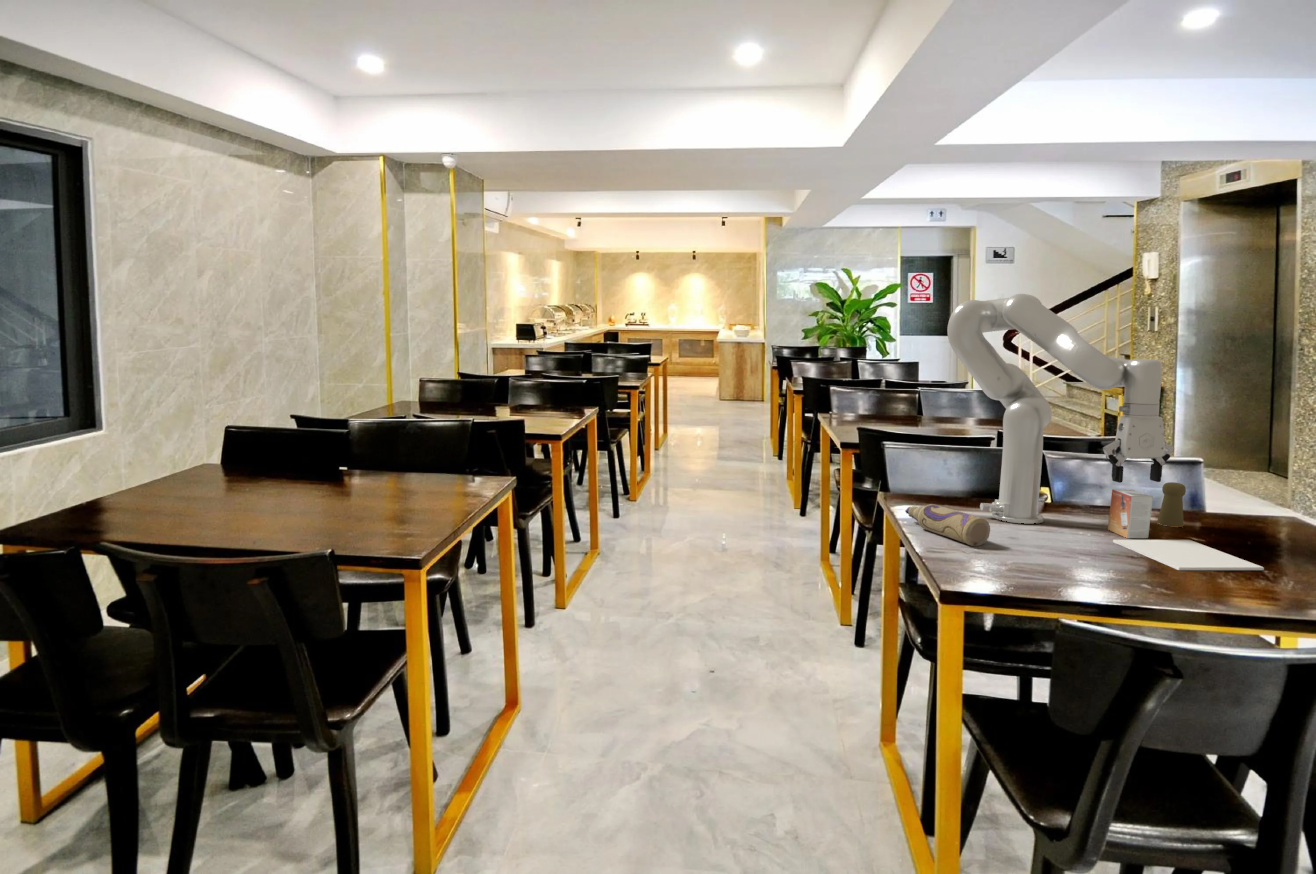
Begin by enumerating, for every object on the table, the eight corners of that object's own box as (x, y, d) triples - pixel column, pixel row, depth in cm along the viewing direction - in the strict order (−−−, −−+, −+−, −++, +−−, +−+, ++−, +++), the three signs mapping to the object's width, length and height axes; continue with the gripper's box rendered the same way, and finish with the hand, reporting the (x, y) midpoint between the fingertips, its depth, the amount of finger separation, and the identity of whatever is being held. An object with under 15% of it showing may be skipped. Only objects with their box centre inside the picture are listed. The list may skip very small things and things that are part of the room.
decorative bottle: (991, 545, 202) (993, 517, 201) (965, 548, 199) (967, 519, 198) (920, 520, 225) (921, 494, 224) (895, 522, 223) (896, 496, 222)
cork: (1180, 523, 229) (1185, 481, 227) (1186, 528, 223) (1190, 486, 221) (1154, 521, 230) (1158, 480, 229) (1159, 526, 225) (1163, 483, 223)
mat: (1178, 570, 184) (1179, 567, 184) (1113, 542, 207) (1113, 539, 207) (1263, 570, 186) (1263, 567, 186) (1189, 542, 209) (1189, 539, 209)
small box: (1107, 530, 219) (1111, 488, 217) (1128, 530, 219) (1132, 489, 218) (1126, 538, 211) (1131, 495, 210) (1149, 538, 211) (1153, 495, 210)
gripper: (1116, 412, 206) (1111, 484, 209) (1185, 412, 208) (1180, 483, 210) (1097, 409, 214) (1093, 479, 216) (1164, 409, 215) (1159, 478, 217)
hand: (1136, 481), depth 213 cm, fingers open, 9 cm apart
